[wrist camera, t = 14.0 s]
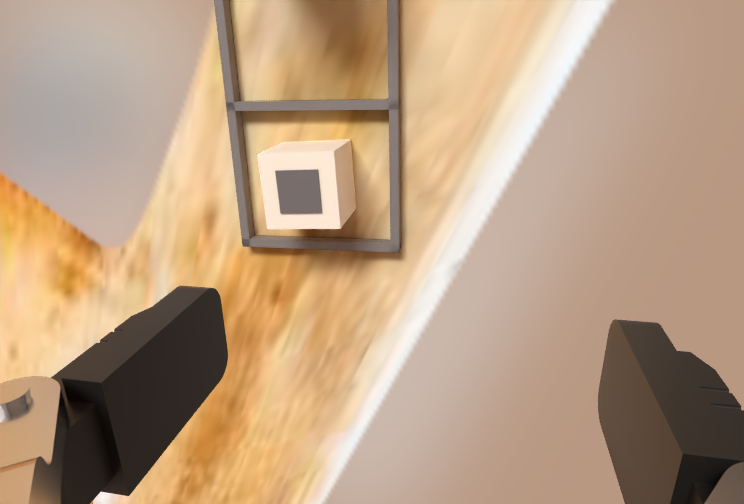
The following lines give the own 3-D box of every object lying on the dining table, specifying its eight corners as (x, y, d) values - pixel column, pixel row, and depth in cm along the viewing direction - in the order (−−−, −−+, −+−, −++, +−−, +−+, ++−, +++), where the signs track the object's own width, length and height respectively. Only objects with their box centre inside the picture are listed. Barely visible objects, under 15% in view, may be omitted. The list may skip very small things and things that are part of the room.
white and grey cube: (283, 141, 37) (256, 153, 33) (351, 139, 36) (333, 151, 32) (291, 209, 39) (266, 229, 34) (356, 208, 38) (339, 229, 33)
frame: (192, -250, 30) (183, -259, 29) (397, -279, 28) (394, -290, 27) (248, 242, 41) (242, 246, 40) (400, 247, 38) (399, 252, 38)
